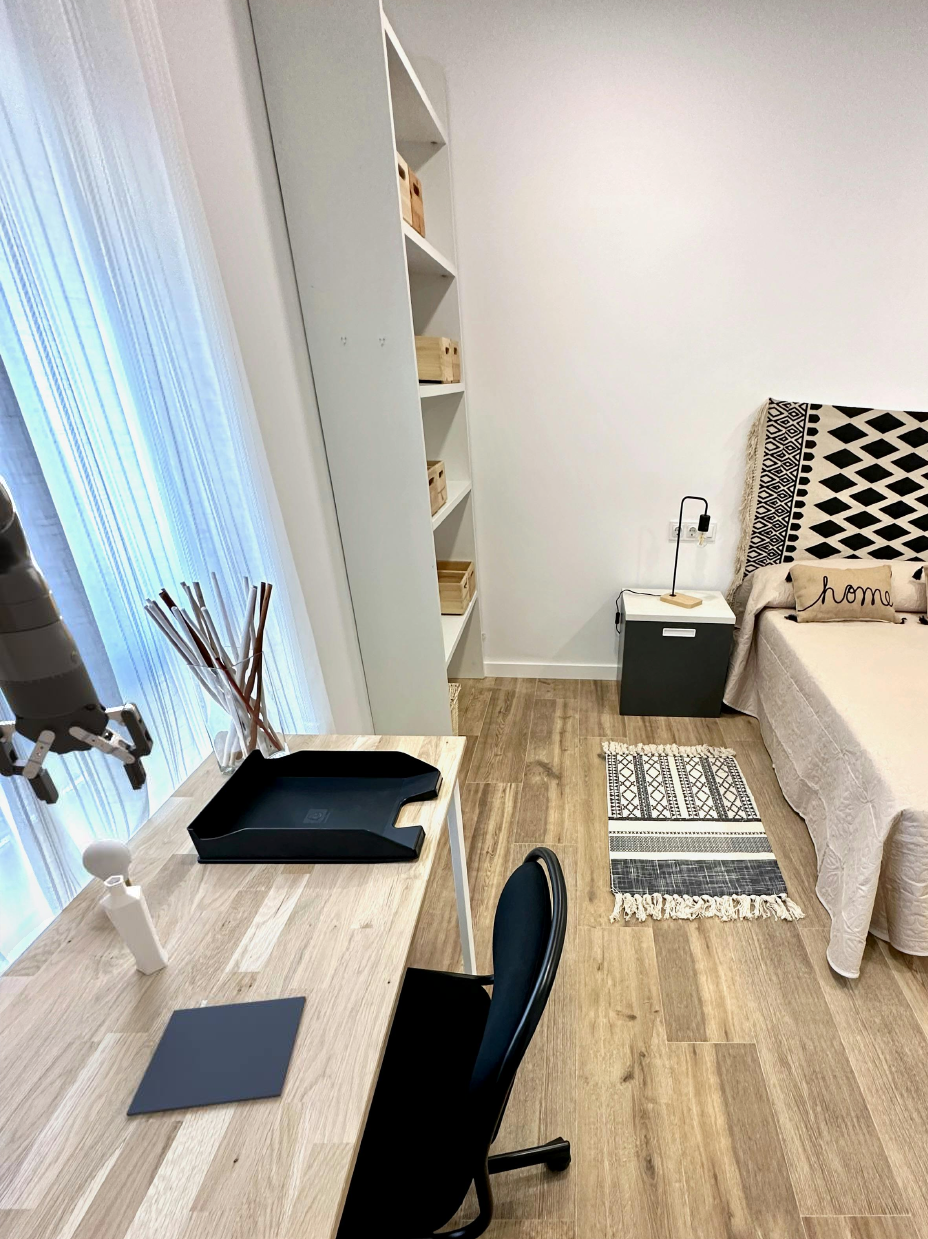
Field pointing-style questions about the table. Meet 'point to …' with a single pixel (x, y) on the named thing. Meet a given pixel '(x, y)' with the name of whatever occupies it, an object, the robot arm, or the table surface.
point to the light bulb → (107, 859)
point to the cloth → (220, 1056)
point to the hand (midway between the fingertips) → (96, 793)
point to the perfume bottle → (134, 924)
